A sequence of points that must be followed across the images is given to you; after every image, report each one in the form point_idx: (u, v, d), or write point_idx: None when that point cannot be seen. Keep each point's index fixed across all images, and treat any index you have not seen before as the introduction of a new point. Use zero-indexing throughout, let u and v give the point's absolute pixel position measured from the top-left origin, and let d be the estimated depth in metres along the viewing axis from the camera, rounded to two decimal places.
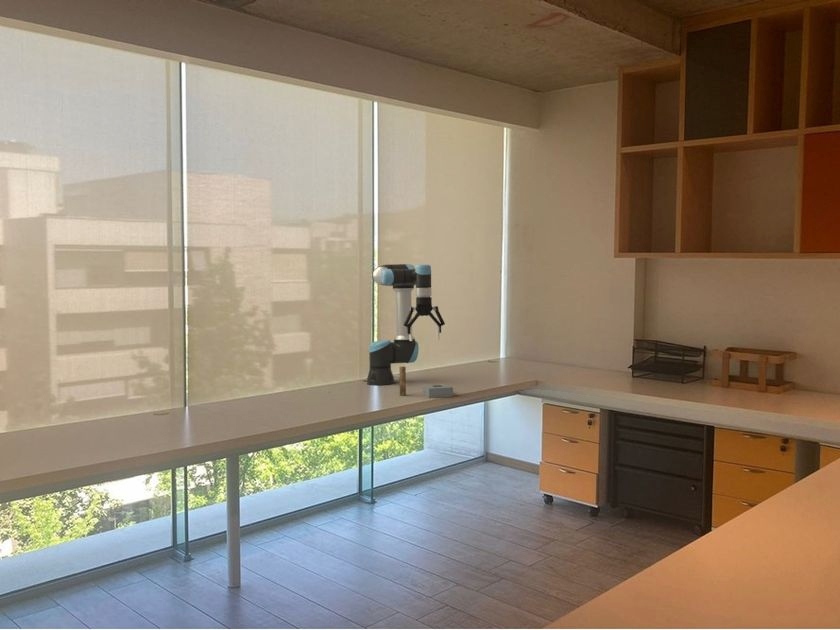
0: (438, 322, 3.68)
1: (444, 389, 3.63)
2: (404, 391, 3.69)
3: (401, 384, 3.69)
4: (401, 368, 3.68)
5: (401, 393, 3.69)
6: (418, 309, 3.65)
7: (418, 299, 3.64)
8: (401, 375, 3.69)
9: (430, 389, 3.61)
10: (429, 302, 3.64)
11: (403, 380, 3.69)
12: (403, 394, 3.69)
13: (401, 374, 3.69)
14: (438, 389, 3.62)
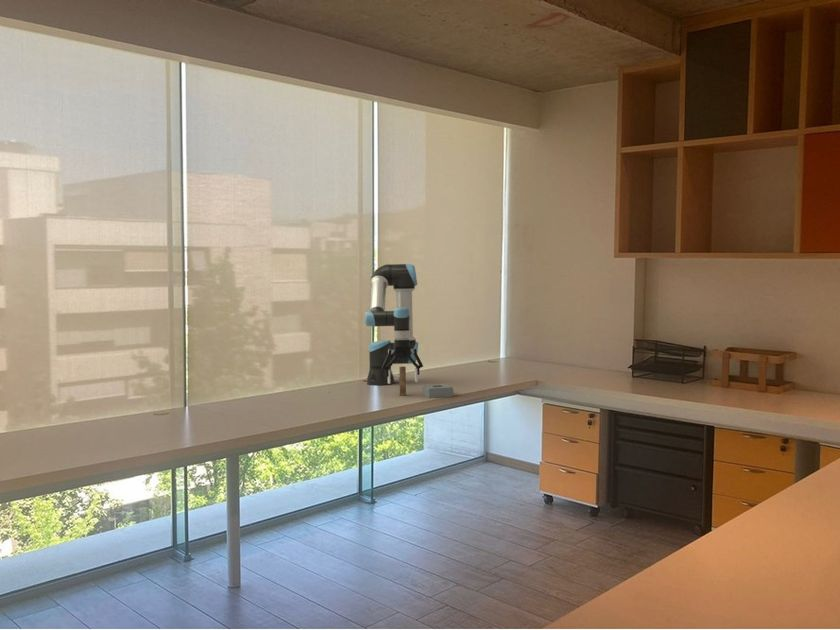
0: (416, 364, 3.70)
1: (444, 389, 3.63)
2: (404, 391, 3.69)
3: (401, 384, 3.69)
4: (401, 368, 3.68)
5: (401, 393, 3.69)
6: (396, 352, 3.67)
7: (396, 342, 3.66)
8: (401, 375, 3.69)
9: (430, 389, 3.61)
10: (407, 345, 3.67)
11: (403, 380, 3.69)
12: (403, 394, 3.69)
13: (401, 374, 3.69)
14: (438, 389, 3.62)
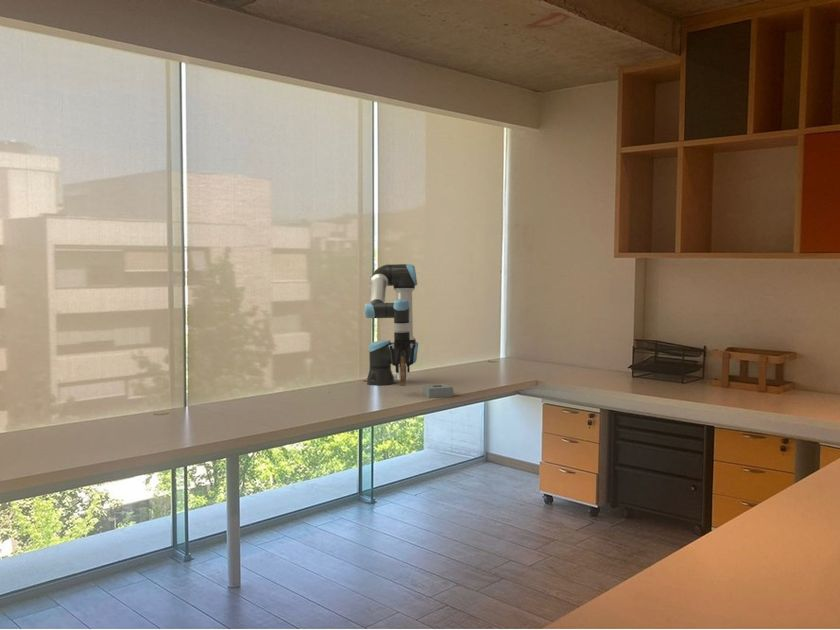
0: (408, 361, 3.70)
1: (444, 389, 3.63)
2: (404, 381, 3.70)
3: (401, 374, 3.69)
4: (401, 358, 3.69)
5: (401, 383, 3.70)
6: (396, 344, 3.68)
7: (396, 334, 3.66)
8: (401, 365, 3.69)
9: (430, 389, 3.61)
10: (407, 337, 3.66)
11: (403, 370, 3.69)
12: (403, 384, 3.70)
13: (401, 364, 3.69)
14: (438, 389, 3.62)
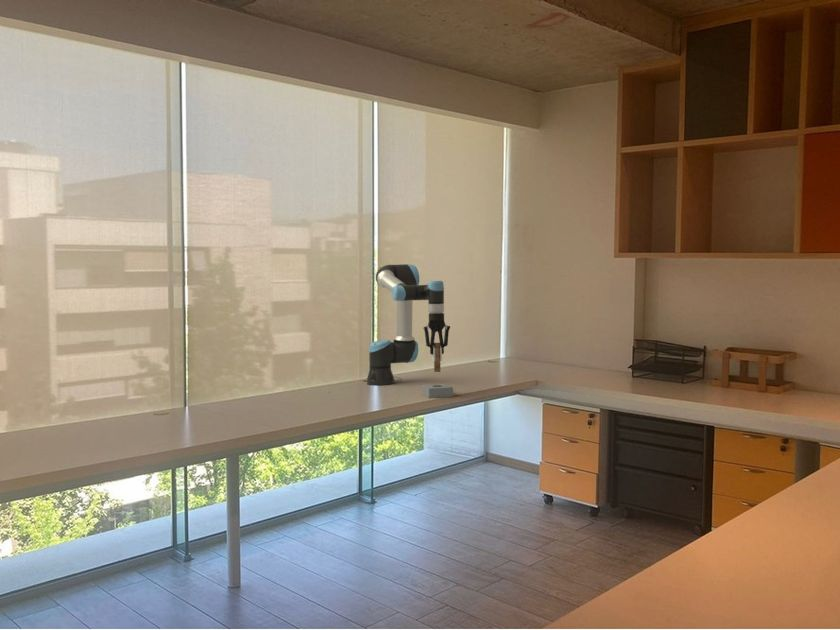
0: (442, 342, 3.67)
1: (444, 389, 3.63)
2: (439, 367, 3.67)
3: (436, 360, 3.66)
4: (436, 344, 3.66)
5: (436, 369, 3.67)
6: (431, 325, 3.65)
7: (431, 315, 3.64)
8: (436, 351, 3.66)
9: (430, 389, 3.61)
10: (442, 318, 3.64)
11: (438, 356, 3.66)
12: (438, 370, 3.66)
13: (436, 350, 3.66)
14: (438, 389, 3.62)
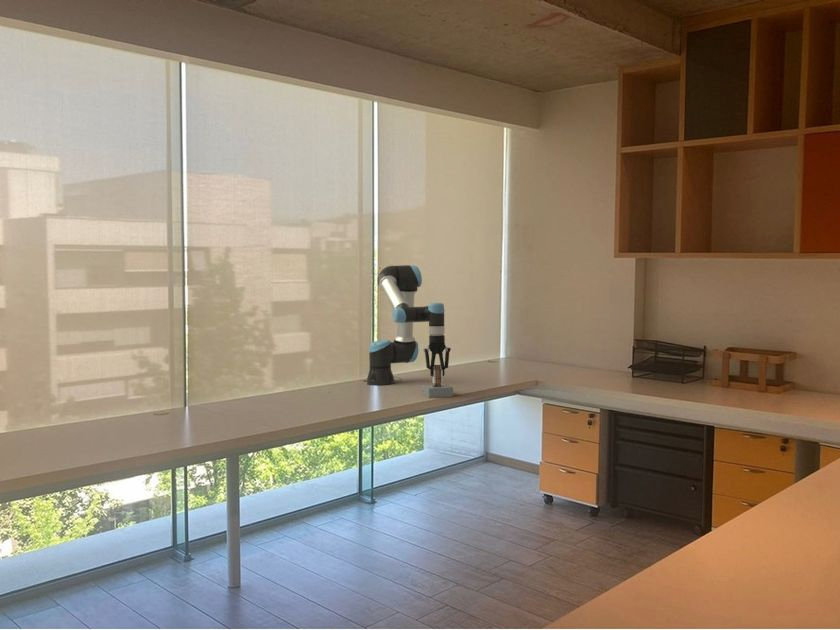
0: (443, 365, 3.67)
1: (444, 389, 3.63)
2: None
3: (436, 382, 3.67)
4: (436, 366, 3.66)
5: None
6: (431, 347, 3.66)
7: (431, 337, 3.65)
8: (436, 373, 3.67)
9: (430, 389, 3.61)
10: (442, 340, 3.65)
11: (438, 378, 3.67)
12: None
13: (436, 372, 3.67)
14: (438, 389, 3.62)
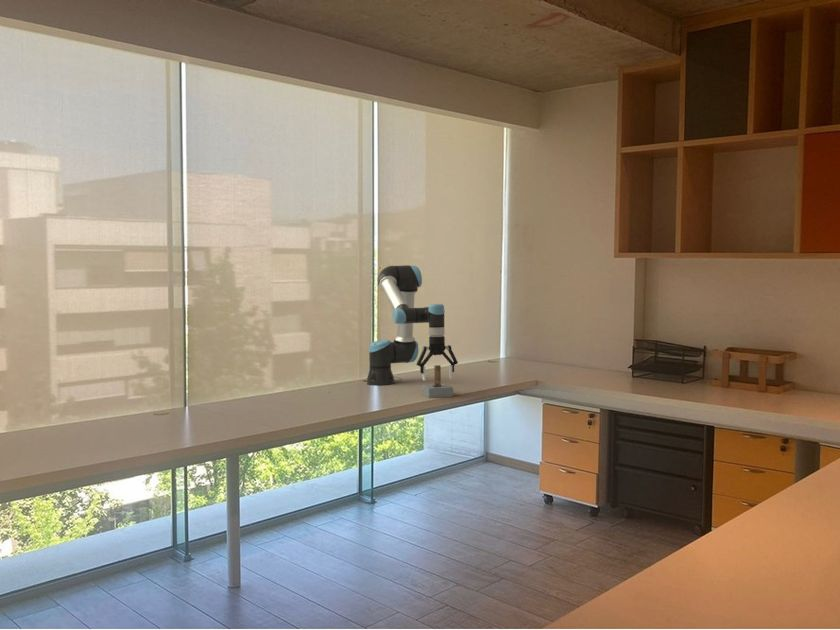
0: (451, 361, 3.68)
1: (444, 389, 3.63)
2: None
3: (436, 383, 3.67)
4: (436, 367, 3.67)
5: None
6: (431, 348, 3.66)
7: (431, 339, 3.65)
8: (436, 374, 3.67)
9: (430, 389, 3.61)
10: (442, 342, 3.65)
11: (438, 379, 3.67)
12: None
13: (436, 373, 3.67)
14: (438, 389, 3.62)
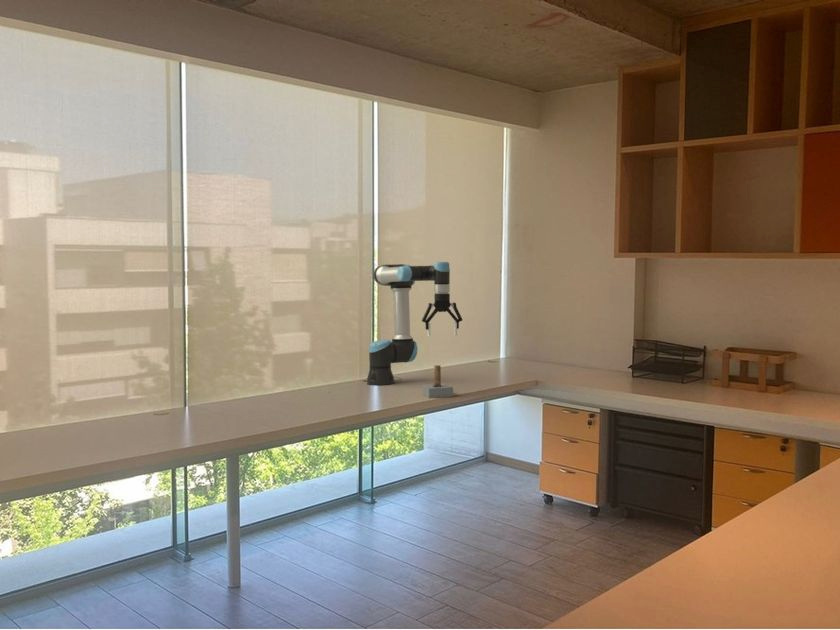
0: (456, 318, 3.75)
1: (444, 389, 3.63)
2: None
3: (436, 383, 3.67)
4: (436, 367, 3.67)
5: None
6: (436, 305, 3.73)
7: (436, 295, 3.71)
8: (436, 374, 3.67)
9: (430, 389, 3.61)
10: (447, 298, 3.71)
11: (438, 379, 3.67)
12: None
13: (436, 373, 3.67)
14: (438, 389, 3.62)
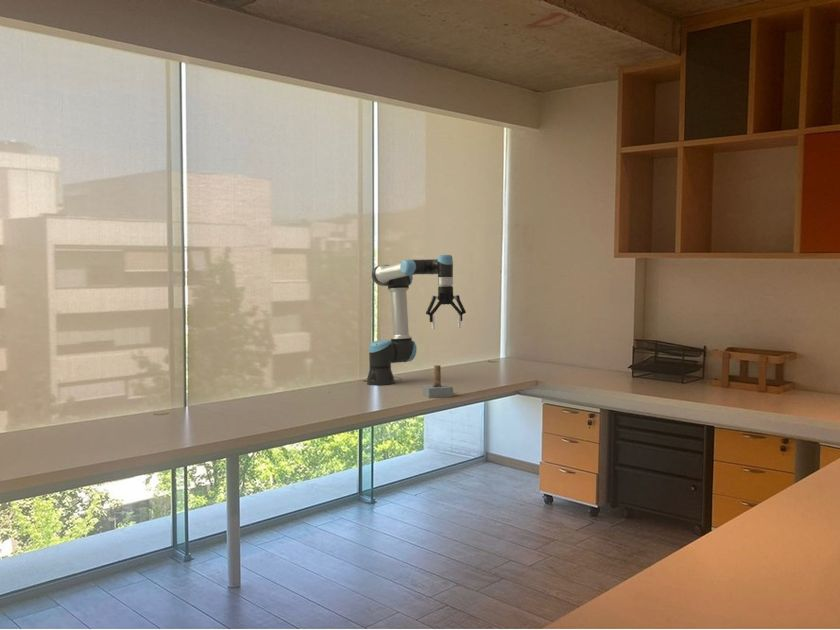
0: (459, 311, 3.80)
1: (444, 389, 3.63)
2: None
3: (436, 383, 3.67)
4: (436, 367, 3.66)
5: None
6: (440, 298, 3.77)
7: (440, 288, 3.76)
8: (436, 374, 3.67)
9: (430, 389, 3.61)
10: (451, 291, 3.76)
11: (438, 379, 3.67)
12: None
13: (436, 373, 3.67)
14: (438, 389, 3.62)
